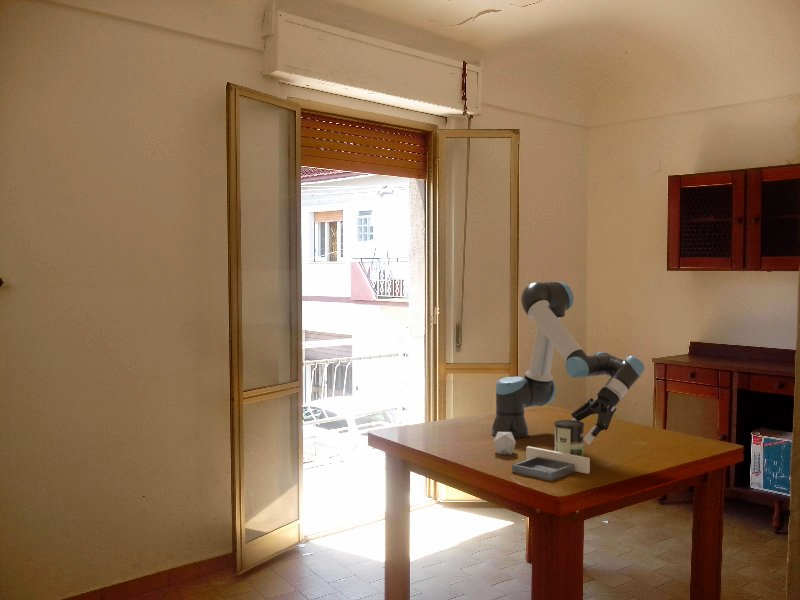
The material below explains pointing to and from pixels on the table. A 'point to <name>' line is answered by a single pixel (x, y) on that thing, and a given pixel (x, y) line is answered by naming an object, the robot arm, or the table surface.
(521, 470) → the grey square tray
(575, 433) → the coffee can
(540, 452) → the board
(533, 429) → the table surface
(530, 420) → the table surface
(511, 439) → the die
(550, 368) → the robot arm
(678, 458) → the table surface
